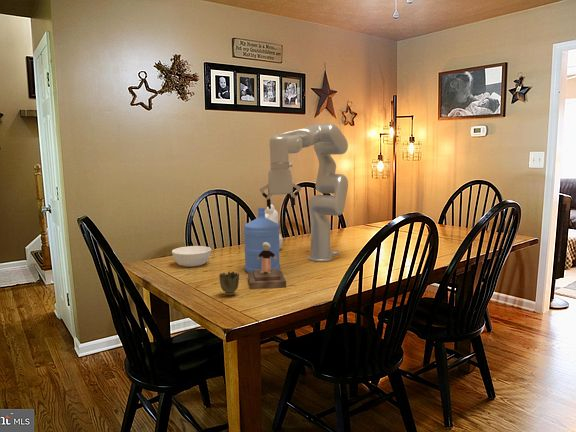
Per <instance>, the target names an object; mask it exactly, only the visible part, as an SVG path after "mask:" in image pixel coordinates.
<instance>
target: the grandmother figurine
mask: <svg viewBox="0 0 576 432" xmlns="http://www.w3.org/2000/svg"><path fill="white" fill-rule="evenodd" d="M270 247H271V246H270V244H269V243H267V242H264V243H263V249H264V251H262V252H261V253H260V254H259V255H258V258H257V260H260V258H261V256H263V257H262V266H261V270H262V271H261V272H260V273H265V272H266V273H267V274H270V273H271V272H270V271H271V258H270V256H271V257H273V258H274V260H276V257H275V254H274V253H272V252H271V251H268V250H269V248H270Z"/></svg>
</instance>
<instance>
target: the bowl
mask: <svg viewBox="0 0 576 432" xmlns="http://www.w3.org/2000/svg"><path fill="white" fill-rule="evenodd" d="M171 253H172V257H173V259H174V261H175V263H177V264H178V265H179V266H182V267H189V268H191V267H199V266H202V265H204V264H206V263H207V262H208V260H209V258H210V256H212V255H211V254H212V248H211V247H209V246H203V245H190V246H189V245H188V246H181V247H177V248H174V249H172V250H171Z"/></svg>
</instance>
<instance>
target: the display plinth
mask: <svg viewBox="0 0 576 432" xmlns="http://www.w3.org/2000/svg"><path fill="white" fill-rule="evenodd" d="M261 271H262V270H261V269H260V270H253V272H247V279H248V283H249V288H250V290H261V289H262V290H263V289H279V288H281V289H282V288H287V279H286V278H285V276H284V274H283V272H282V270H279V271H278V270H277V269H271V271H270V272H271V273H270V274H267V273H266V272H265V273H260V272H261Z"/></svg>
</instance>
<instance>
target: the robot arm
mask: <svg viewBox="0 0 576 432" xmlns="http://www.w3.org/2000/svg"><path fill="white" fill-rule="evenodd" d="M268 145H269V160H270V162H269V163H270V166H269V167H270V170H268V173H267V174H268V176H267V184H265V185H263V186H262V187H261V188H259V192H260V193H261V195H262V196H263V197H264V198H265V199H266V208H267V207H269V209H271V204H272V203H271V201H272V200H271V197H272V196H275V195H277V196H278V195H288V194H289V195H290V196H291V197H290V207H291V208H295V206H296V198H297V197H298V195H299V193H300V192H301V190H302V186H300V185H298V184H296V183H293V177H292V172H291V169H290V168H292V167H293V163H290V162H289V161H290V160H289V154H297V153H299V152H301V150H303V149H304V148H308V147H311V146H313V150H314V152H315V155H316V157H317V159H318V170H317V176H316V180H315V189H316V191H317V192H318V193H320V194H315V195H312V196H311V197H309V200H308V209H309V216H310V254H309V255H307V260H309V261H310V262H311V261H312V262H319V263H320V262H322V263H325V262H330V261H333V260H334V256H340V255H341V251H340V250H337V251H336V250H332V249H331V222H330V219H329V217H328V216H333V217H334V216H335V217H336V216H337V217H338V216H341V215H342V214H343V213H344V210H345V206H346V200H347V195H348V190H349V181H348V178H347V176H346V175H344V174H342V173H341V174H340V173H336V171H337V165H336V161H335V160H334V158H333V157H332V155H333V156H334V155H344V154H345V153H346V152H347V151H348V148H349V143H348V141H347V138H346V136H345V135H344V134H343V132H342V131H341V129H340V128H339V127H338V126H337V125H336V124H335V123H331V122H329V123H314V124H311V125H308V126H306V127H304V128H299V129H294V130H290V131H286V132H282V133H281V132H280V133H278V134H276V135H274V136H271V137H270V138H269V144H268ZM294 188H295V189H296V191H294ZM266 189H267V191H268V192H267V194H266V193H265V190H266ZM293 191H294V193H293ZM329 194H332V195H329Z"/></svg>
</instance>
